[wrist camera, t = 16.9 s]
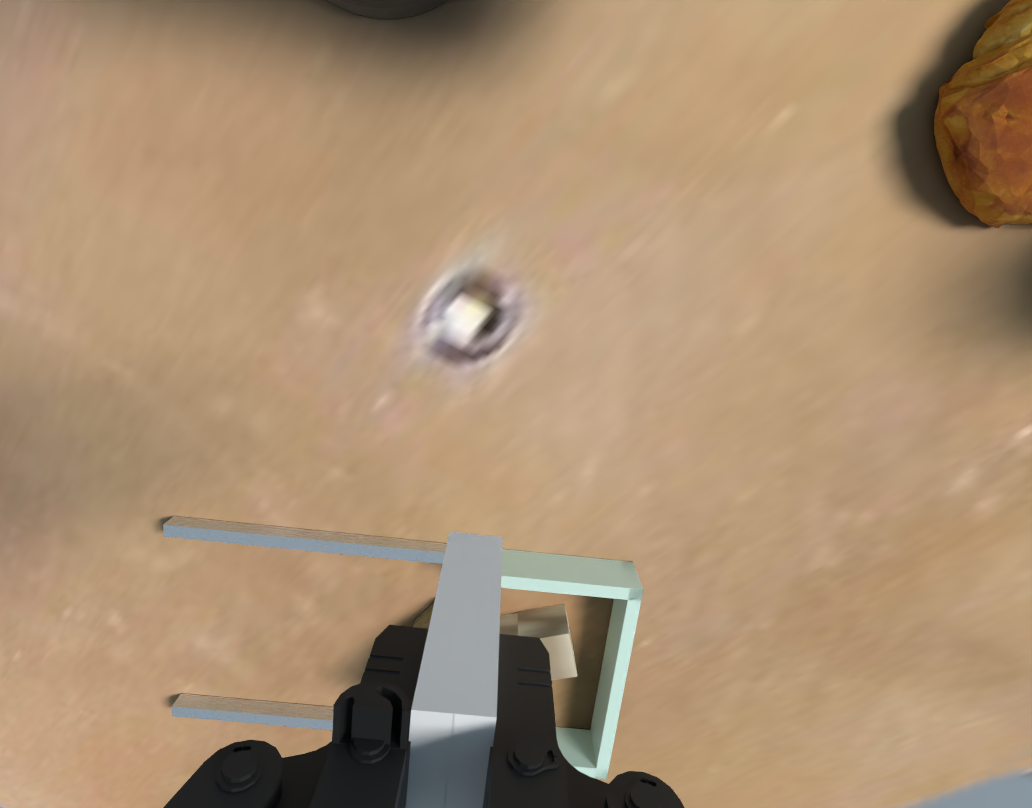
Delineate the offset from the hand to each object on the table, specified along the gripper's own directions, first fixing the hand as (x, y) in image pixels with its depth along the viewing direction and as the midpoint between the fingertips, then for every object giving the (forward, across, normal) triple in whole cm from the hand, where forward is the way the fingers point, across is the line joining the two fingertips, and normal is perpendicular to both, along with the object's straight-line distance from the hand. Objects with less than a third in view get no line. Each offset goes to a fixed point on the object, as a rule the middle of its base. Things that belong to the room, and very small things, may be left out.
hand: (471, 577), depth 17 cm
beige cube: (+29, +6, -22) cm, 36 cm away
